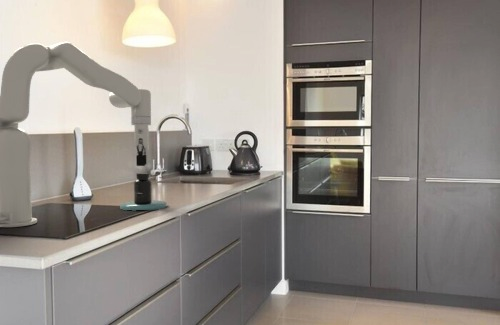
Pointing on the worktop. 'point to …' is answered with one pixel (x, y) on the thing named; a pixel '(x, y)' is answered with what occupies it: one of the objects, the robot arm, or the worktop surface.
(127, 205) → the dish
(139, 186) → the supplement bottle
